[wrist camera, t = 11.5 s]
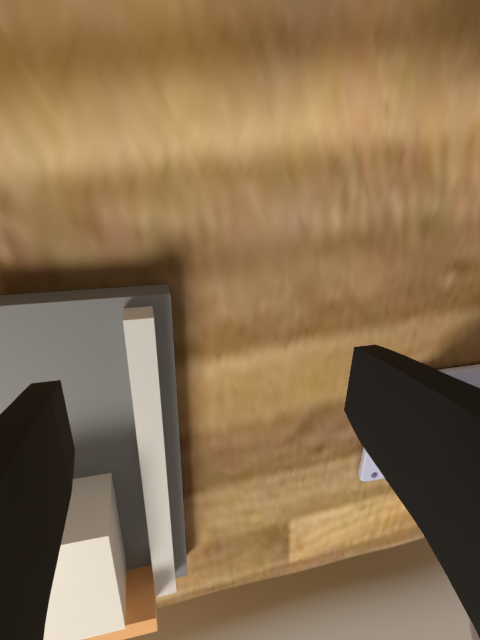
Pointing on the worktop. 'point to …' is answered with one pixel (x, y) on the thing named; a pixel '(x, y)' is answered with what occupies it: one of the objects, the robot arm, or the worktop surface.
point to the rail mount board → (112, 415)
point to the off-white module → (89, 566)
